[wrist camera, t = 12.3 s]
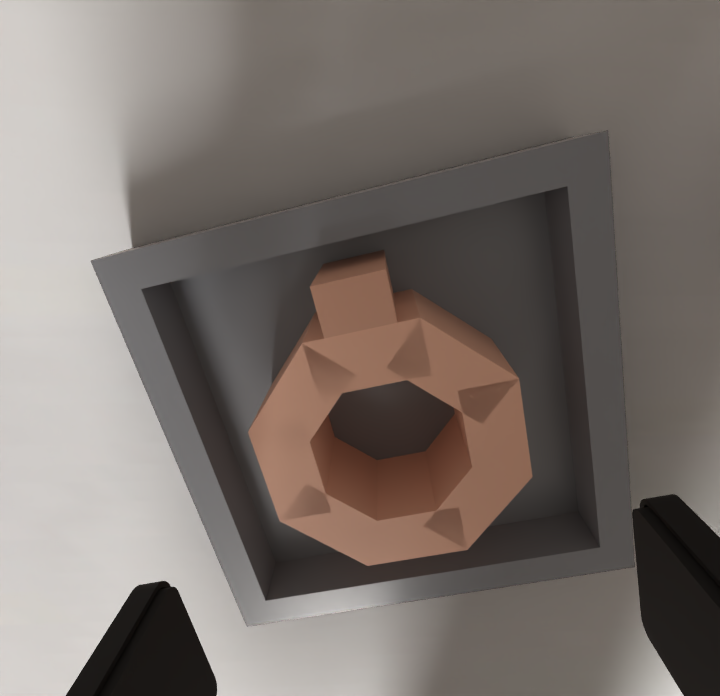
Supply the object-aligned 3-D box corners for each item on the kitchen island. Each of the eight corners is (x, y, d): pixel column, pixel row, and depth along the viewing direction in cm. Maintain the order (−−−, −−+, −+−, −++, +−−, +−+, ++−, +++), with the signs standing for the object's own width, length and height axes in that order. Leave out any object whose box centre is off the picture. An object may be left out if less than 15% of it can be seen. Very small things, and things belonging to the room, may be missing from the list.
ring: (474, 228, 13) (500, 243, 11) (511, 474, 16) (540, 538, 13) (238, 283, 14) (204, 310, 11) (312, 509, 17) (299, 577, 14)
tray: (571, 137, 13) (608, 130, 11) (603, 519, 17) (634, 567, 15) (131, 248, 14) (90, 260, 12) (260, 576, 19) (246, 626, 17)
